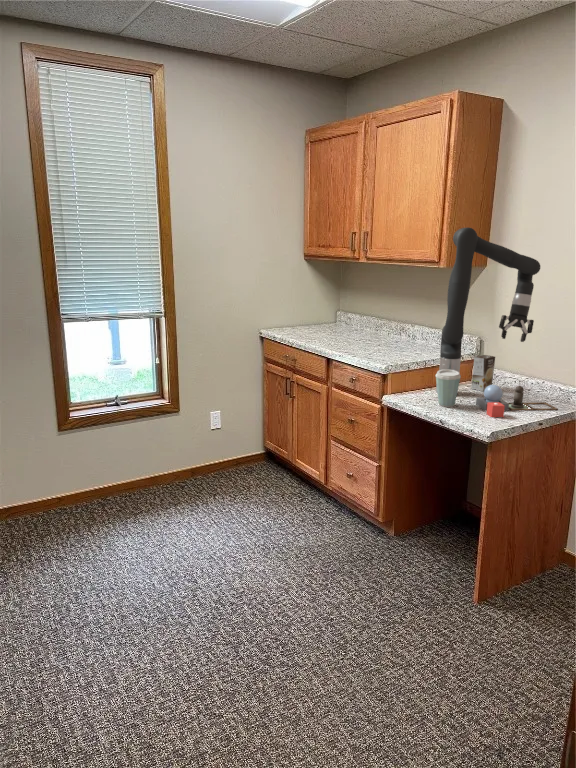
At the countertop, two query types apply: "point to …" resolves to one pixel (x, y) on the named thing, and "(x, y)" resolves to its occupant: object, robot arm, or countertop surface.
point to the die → (495, 409)
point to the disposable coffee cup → (447, 387)
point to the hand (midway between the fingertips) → (512, 340)
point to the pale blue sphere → (493, 393)
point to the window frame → (532, 407)
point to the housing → (483, 403)
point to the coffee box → (483, 372)
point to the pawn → (518, 397)
